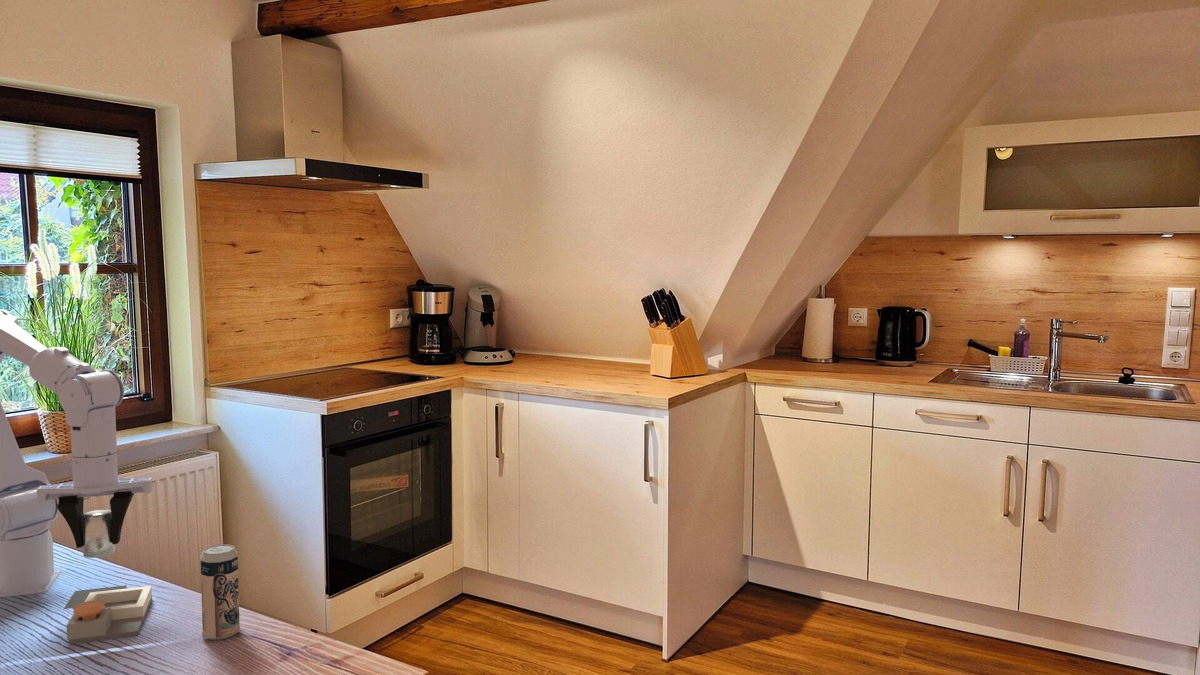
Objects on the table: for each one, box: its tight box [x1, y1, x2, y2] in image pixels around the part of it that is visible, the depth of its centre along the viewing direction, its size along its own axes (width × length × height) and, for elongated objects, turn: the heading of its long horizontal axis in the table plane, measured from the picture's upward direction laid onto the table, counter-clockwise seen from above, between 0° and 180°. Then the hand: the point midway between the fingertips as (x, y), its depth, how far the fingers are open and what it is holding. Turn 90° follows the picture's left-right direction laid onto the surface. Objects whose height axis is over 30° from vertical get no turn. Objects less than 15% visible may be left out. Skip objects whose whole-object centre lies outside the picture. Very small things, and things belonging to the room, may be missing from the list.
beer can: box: [199, 543, 241, 641], centre depth 114 cm, size 5×5×12 cm
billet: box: [81, 509, 116, 559], centre depth 124 cm, size 4×4×6 cm
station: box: [66, 585, 153, 645], centre depth 118 cm, size 13×8×3 cm, turn 21°
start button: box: [72, 600, 105, 620], centre depth 113 cm, size 4×4×3 cm
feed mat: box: [63, 584, 128, 610], centre depth 126 cm, size 7×7×1 cm
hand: (98, 543), depth 124 cm, fingers closed on billet, 4 cm apart
